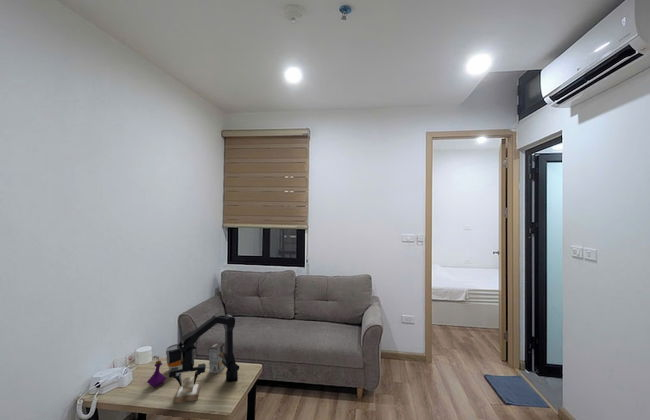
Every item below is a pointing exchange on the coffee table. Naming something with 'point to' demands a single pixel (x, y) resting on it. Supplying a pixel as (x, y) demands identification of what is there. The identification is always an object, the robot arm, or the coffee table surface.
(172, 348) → the reusable coffee cup
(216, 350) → the coffee box
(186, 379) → the oak block
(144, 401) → the coffee table surface
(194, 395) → the base slab
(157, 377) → the perfume bottle
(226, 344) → the robot arm
